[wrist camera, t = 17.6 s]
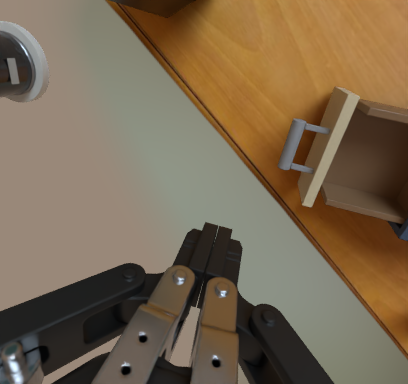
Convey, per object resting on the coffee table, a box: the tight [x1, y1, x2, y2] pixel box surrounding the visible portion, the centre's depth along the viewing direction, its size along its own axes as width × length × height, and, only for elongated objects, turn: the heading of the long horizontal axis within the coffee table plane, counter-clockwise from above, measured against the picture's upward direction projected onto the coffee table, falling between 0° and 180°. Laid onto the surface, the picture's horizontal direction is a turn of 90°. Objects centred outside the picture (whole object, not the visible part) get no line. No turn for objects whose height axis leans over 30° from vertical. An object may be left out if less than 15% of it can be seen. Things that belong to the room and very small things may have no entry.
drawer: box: [278, 86, 408, 224], centre depth 34 cm, size 18×14×7 cm
